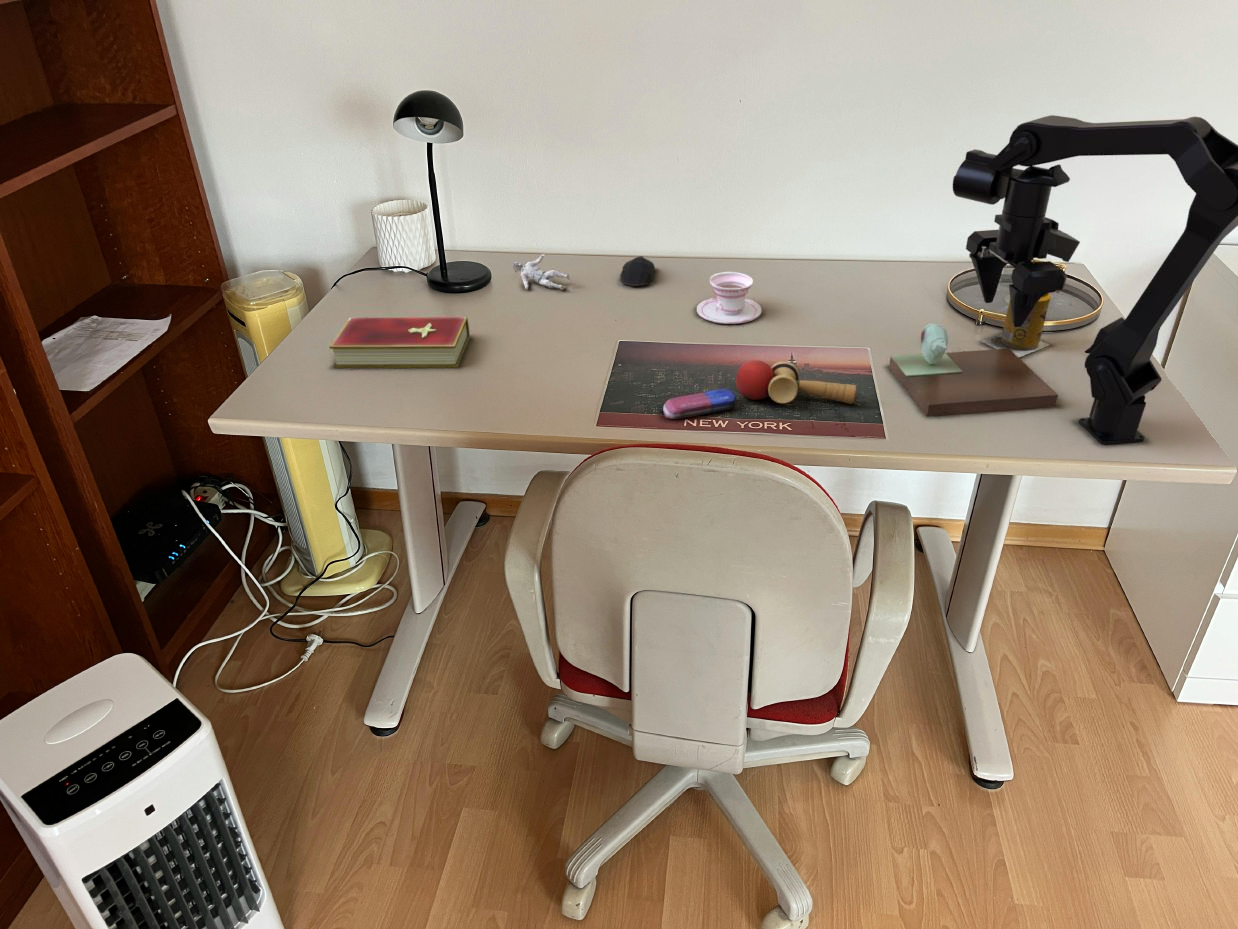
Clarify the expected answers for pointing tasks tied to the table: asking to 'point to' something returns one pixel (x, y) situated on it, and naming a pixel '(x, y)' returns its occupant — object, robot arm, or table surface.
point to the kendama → (786, 383)
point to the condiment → (1023, 331)
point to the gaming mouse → (637, 272)
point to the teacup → (729, 300)
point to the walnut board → (971, 382)
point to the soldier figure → (538, 274)
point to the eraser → (699, 404)
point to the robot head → (934, 342)
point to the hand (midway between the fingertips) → (1002, 314)
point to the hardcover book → (401, 342)
